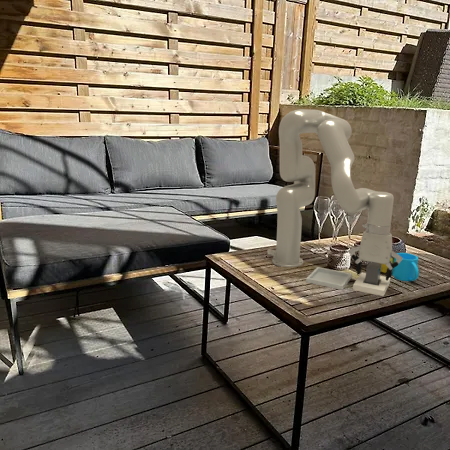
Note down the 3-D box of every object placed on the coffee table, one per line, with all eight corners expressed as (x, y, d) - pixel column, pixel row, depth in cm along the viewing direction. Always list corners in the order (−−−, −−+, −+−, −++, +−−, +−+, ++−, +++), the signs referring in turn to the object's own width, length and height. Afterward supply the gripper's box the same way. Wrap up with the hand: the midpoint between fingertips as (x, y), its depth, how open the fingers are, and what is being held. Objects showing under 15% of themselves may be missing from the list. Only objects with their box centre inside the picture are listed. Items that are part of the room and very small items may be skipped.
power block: (352, 291, 143) (353, 283, 143) (361, 278, 154) (361, 271, 153) (383, 297, 139) (384, 289, 138) (389, 284, 150) (390, 276, 149)
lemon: (393, 277, 156) (395, 256, 154) (377, 275, 157) (379, 255, 155) (390, 271, 161) (393, 252, 159) (375, 270, 162) (377, 250, 160)
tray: (305, 283, 149) (306, 278, 149) (317, 271, 160) (317, 267, 160) (342, 291, 143) (342, 286, 143) (351, 278, 154) (352, 273, 154)
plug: (364, 287, 145) (366, 266, 143) (367, 283, 149) (369, 261, 147) (376, 290, 143) (378, 268, 141) (378, 285, 148) (381, 264, 145)
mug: (387, 273, 160) (390, 253, 157) (407, 272, 161) (409, 252, 159) (405, 286, 148) (408, 264, 146) (426, 284, 150) (430, 263, 147)
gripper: (349, 227, 142) (345, 274, 146) (404, 235, 133) (397, 285, 138) (354, 222, 148) (350, 268, 153) (407, 229, 140) (401, 277, 144)
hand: (372, 276), depth 145 cm, fingers open, 9 cm apart
